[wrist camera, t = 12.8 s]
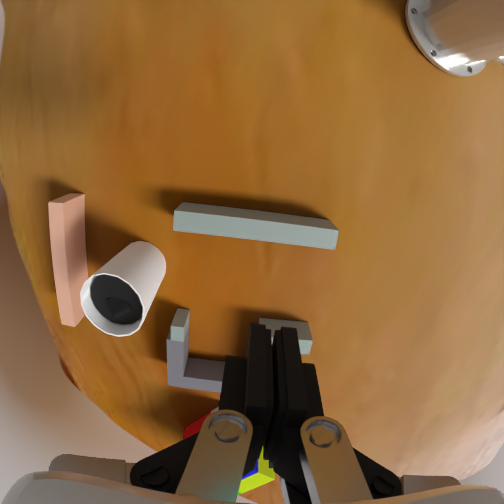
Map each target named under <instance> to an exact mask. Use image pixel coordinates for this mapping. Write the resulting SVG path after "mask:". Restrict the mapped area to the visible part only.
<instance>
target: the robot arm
mask: <svg viewBox="0 0 504 504" xmlns="http://www.w3.org/2000/svg"><path fill="white" fill-rule="evenodd" d="M405 16H406V23H407V26H408V29H409V32H410V34H411V36H412V39H413V40H414V42H415V44H416V45H417V47H418V48H419V50H420V51H421V52H422V53H423V55H424V56H425V57H426V58H427V59H428V60H429V61H430V62H431V63H432V64H433V65H435V66H436V67H437V68H439V69H440V70H442V71H444V72H446V73H448V74H450V75H454V76H458V77H467V76H472V75H476V74H477V73H479V72H481V71H482V70H483V68H484V67H485V66H486V64H487V62H488V61H490V60H492V61H494V62H498V61H499V62H500V63H501V64H503V65H504V0H407V3H406V7H405ZM262 447H263V459H264V460H269V468H273V471H274V472H275V473H277V474H278V475H279V476H280V484H281V488H282V493H283V498H284V502H285V504H504V494H503V493H502V492H501V491H499V490H497V489H495V488H492V487H489V486H483V485H470V484H468V485H461V484H460V482H459V481H458V480H457V479H455V478H454V477H450V476H417V475H403V476H402V477H397V476H396V475H395V474H394V473H393V472H391V471H389V470H388V469H386V468H384V467H383V466H381V465H379V464H378V463H376V462H375V461H373V460H371V459H370V458H368V457H367V456H365V455H364V454H362V453H360V452H359V451H357V450H356V449H354V448H353V447H352V445H351V443H350V440H349V438H348V436H347V433H346V431H345V429H344V427H343V426H342V425H341V424H340V423H339V422H338V421H336V420H334V419H332V418H329V417H325V416H324V413H323V407H322V402H321V396H320V391H319V385H318V380H317V375H316V369H315V366H314V364H310V363H302V360H301V353H300V347H299V340H298V334H297V328H293V327H283V326H282V327H281V329H280V330H275V332H274V337H273V342H272V338H271V329H266V325H264V324H255V323H251V325H250V331H249V337H248V344H247V351H246V357H245V358H244V357H236V356H228V355H226V359H225V366H224V373H223V380H222V388H221V395H220V402H219V409H218V411H215V412H213V413H211V414H210V415H208V416H207V417H206V419H205V421H204V422H203V425H202V427H201V430H200V431H199V432H198V433H196V434H194V435H192V436H190V437H188V438H186V439H184V440H182V441H180V442H178V443H176V444H174V445H172V446H170V447H168V448H166V449H164V450H161V451H159V452H157V453H155V454H153V455H151V456H149V457H146V458H144V459H142V460H140V461H139V462H137V463H126V462H125V460H117V459H106V458H96V457H87V456H78V455H72V454H62V455H60V456H57V457H56V458H54V459H53V460H52V462H51V464H50V466H49V471H41V472H34V473H30V474H27V475H25V476H23V477H21V478H20V479H19V480H18V481H17V482H16V483H15V484H14V485H13V486H12V487H11V489H10V490H9V491H8V493H7V495H6V496H5V498H4V499H3V501H2V503H1V504H248V503H235V502H236V498H237V494H238V491H239V487H240V483H241V479H242V477H244V476H245V475H247V474H248V473H250V472H251V471H253V470H254V468H255V464H256V461H257V459H259V457H260V454H261V451H262Z"/></svg>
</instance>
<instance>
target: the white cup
mask: <svg viewBox="0 0 504 504" xmlns="http://www.w3.org/2000/svg"><path fill="white" fill-rule="evenodd" d="M165 272H166V262H165V259H164V256H163V254H162V253H161V252H160V250H159V249H158V248H157V247H155V246H154V245H152V244H151V243H149V242H144V241H137V242H132V243H130V244H129V245H128V246H127V247H125V248H124V249H123V250H122V251H120V252H119V253H118V254H117V255H116V256H114V257H113V258H112V259H111V260H110V261H108V262H107V263H106V264H105V265H104V266H103V267H101V268H100V269H99V270H98V271H97V272H95V273H94V274H93V275H92V276H91V277H90V278H89V279H87V280H86V281H85V282H84V284H83V287H82V289H81V292H80V298H81V306H82V308H83V310H84V313H85V315H86V317H87V318H88V319H89V320H90V321H91V322H92V324H93V325H94V326H95V327H97V328H98V329H100V330H101V331H103V332H105V333H106V334H110V335H114V336H118V337H119V336H128V335H131V334H133V333H134V332H136V331H138V330H139V329H140V327H141V325H142V323H143V322H144V320H145V317H146V315H147V313H148V311H149V308H150V306H151V304H152V301H153V299H154V297H155V295H156V293H157V290H158V288H159V286H160V284H161V281H162V279H163V277H164V275H165Z"/></svg>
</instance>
